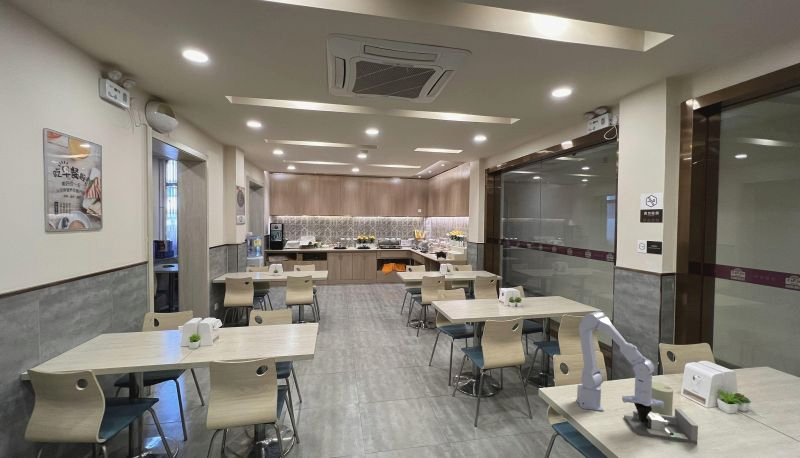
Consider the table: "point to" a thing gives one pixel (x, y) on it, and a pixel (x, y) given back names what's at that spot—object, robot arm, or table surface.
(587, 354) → the robot arm
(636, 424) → the gauge base
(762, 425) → the table surface
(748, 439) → the table surface
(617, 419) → the table surface
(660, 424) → the white mechanical block
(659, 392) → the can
